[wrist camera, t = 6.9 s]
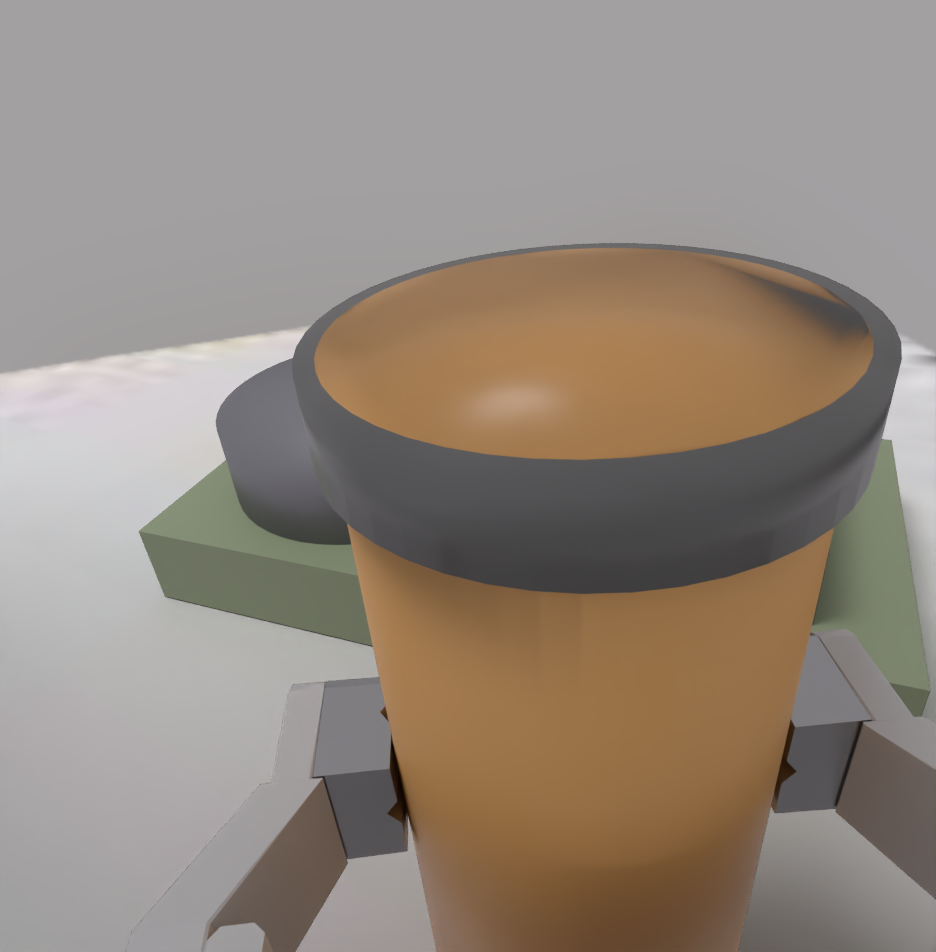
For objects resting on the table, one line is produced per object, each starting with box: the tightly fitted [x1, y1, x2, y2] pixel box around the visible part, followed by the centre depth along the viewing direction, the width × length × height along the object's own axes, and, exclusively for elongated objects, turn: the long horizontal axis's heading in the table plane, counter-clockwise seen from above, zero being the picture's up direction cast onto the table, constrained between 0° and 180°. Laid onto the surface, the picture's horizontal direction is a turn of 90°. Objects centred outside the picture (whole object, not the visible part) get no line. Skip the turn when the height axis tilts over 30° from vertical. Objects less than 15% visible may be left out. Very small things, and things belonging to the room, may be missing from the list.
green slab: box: [139, 358, 930, 717], centre depth 26 cm, size 24×12×6 cm, turn 68°
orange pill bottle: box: [292, 243, 902, 952], centre depth 11 cm, size 5×5×14 cm
